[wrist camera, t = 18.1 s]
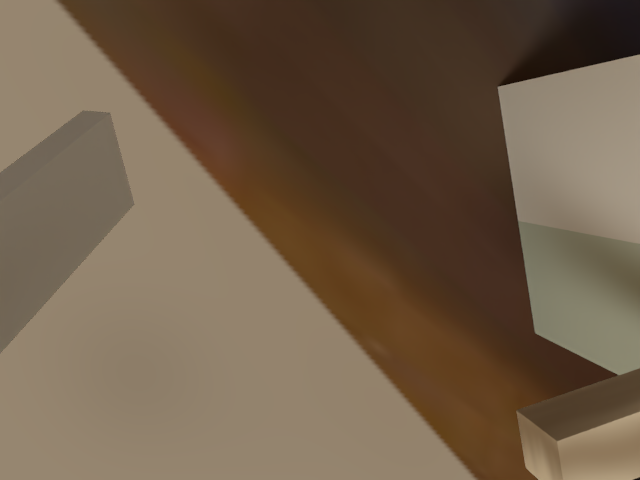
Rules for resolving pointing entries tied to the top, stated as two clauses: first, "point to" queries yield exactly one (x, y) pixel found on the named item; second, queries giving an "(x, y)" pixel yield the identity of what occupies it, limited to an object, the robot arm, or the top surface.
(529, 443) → the mallet
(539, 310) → the stepped plinth
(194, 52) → the top surface
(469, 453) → the top surface
